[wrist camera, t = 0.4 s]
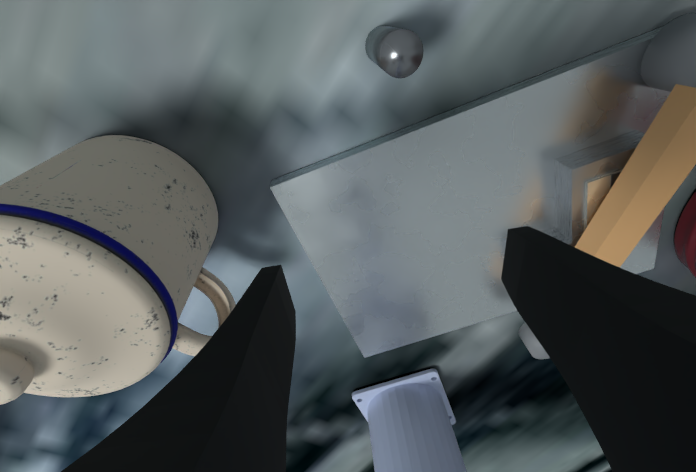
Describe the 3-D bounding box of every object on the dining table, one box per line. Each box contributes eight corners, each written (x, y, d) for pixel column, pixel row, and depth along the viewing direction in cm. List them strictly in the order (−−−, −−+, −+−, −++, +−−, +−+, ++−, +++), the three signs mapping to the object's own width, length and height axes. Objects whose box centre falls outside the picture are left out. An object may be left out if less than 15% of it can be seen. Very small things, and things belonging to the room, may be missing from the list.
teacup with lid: (25, 210, 20) (-265, 406, 10) (100, 88, 16) (-213, 195, 7) (209, 310, 25) (140, 503, 15) (293, 231, 22) (274, 409, 12)
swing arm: (669, 6, 15) (759, 4, 12) (727, 20, 16) (828, 21, 13) (496, 320, 26) (521, 361, 23) (535, 322, 26) (564, 363, 23)
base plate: (642, 260, 25) (699, 302, 22) (362, 347, 28) (370, 399, 24) (696, -113, 14) (834, -160, 10) (224, 93, 17) (198, 116, 13)
